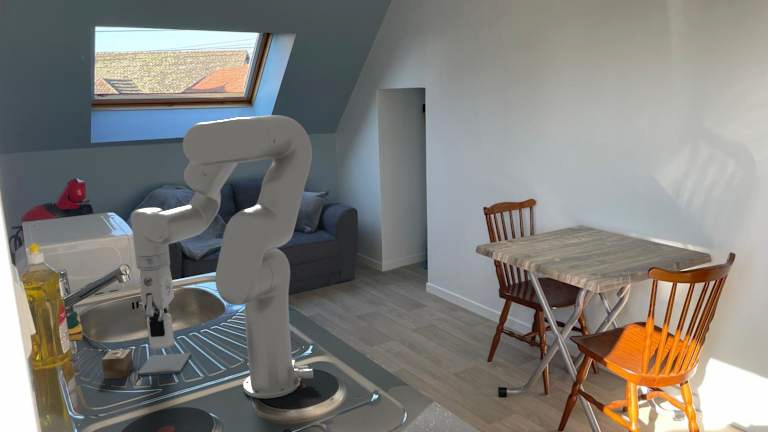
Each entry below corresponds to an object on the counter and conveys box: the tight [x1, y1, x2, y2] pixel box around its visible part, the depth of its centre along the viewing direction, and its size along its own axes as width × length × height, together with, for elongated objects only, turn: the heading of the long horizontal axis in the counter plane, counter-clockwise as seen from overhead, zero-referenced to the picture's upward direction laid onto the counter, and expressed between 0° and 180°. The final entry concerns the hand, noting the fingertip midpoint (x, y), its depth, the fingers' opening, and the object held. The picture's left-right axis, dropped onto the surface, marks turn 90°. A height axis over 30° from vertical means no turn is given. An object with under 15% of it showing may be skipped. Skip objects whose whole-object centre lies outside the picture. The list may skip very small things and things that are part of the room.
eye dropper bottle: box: [146, 306, 175, 350], centre depth 142 cm, size 4×6×12 cm
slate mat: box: [136, 352, 192, 376], centre depth 144 cm, size 10×10×1 cm
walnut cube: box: [101, 349, 134, 380], centre depth 140 cm, size 5×5×5 cm
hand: (160, 331), depth 142 cm, fingers closed on eye dropper bottle, 3 cm apart
